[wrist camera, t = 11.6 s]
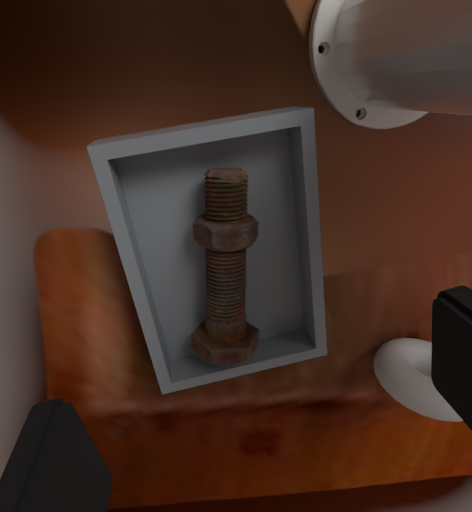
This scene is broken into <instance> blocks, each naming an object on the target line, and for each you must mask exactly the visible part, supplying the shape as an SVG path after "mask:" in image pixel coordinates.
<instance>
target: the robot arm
mask: <svg viewBox="0 0 472 512" xmlns="http://www.w3.org/2000/svg"><path fill="white" fill-rule="evenodd" d="M319 46H321V47H322V52H321V54H319V52H318V47H319ZM309 59H310V64H311V70H312V75H313V77H314V80H315V83H316V85H317V88H318V90H319V92H320V94H321V95H322V97H323V98H324V100H325V102H326V103H327V104H328V105H329V106H330V107H331V108H332V110H333V111H334V112H335V113H336V114H337V115H339V116H340V117H342V118H343V119H345V120H346V121H348V122H350V123H353V124H355V125H358V126H360V127H365V128H370V129H391V128H396V127H401V126H404V125H407V124H409V123H412V122H414V121H416V120H418V119H419V118H421V117H422V116H424V115H426V114H427V113H429V112H438V113H451V114H464V115H472V0H317V2H316V5H315V8H314V12H313V15H312V18H311V25H310V32H309ZM357 110H358V115H357V116H356V111H357ZM431 379H432V382H433V385H434V387H435V388H436V390H437V391H438V392H439V393H440V395H441V396H442V397H443V398H444V399H445V400H446V402H447V403H448V404H449V405H450V406H451V407H452V408H453V410H454V411H455V412H456V413H457V414H458V415H459V416H460V418H461V419H462V420H463V421H464V422H465V423H466V424H467V426H468V427H469V428H470V429H471V430H472V290H471V289H469V288H468V287H466V286H458V287H455V288H451V289H448V290H444V291H441V292H439V294H438V296H437V299H434V301H433V305H432V358H431ZM110 491H111V475H110V471H109V469H108V467H107V465H106V464H105V462H104V460H103V458H102V457H101V455H100V453H99V451H98V450H97V448H96V446H95V444H94V442H93V441H92V439H91V437H90V435H89V434H88V432H87V430H86V428H85V427H84V425H83V423H82V421H81V419H80V418H79V416H78V414H77V412H76V411H75V409H74V407H73V405H72V404H71V403H70V402H64V401H63V400H62V399H61V398H56V399H53V400H49V401H46V402H42V403H38V404H35V405H34V406H33V407H32V408H31V410H30V412H29V414H28V417H27V419H26V421H25V424H24V426H23V428H22V430H21V433H20V435H19V437H18V440H17V442H16V444H15V447H14V449H13V451H12V454H11V456H10V458H9V460H8V463H7V465H6V467H5V470H4V472H3V474H2V477H1V479H0V512H107V511H108V505H109V498H110Z"/></svg>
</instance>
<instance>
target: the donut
mask: <svg viewBox="0 0 472 512" xmlns="http://www.w3.org/2000/svg"><path fill="white" fill-rule="evenodd" d="M431 358H432V342H428V341H424V340H420V339H414V338H399V339H393V340H390V341H388V342H386V343H384V344H383V345H381V346H380V348H379V349H378V351H377V352H376V354H375V356H374V372H375V375H376V377H377V379H378V380H379V382H380V384H381V386H382V387H383V388H384V389H385V390H386V391H387V392H388V393H389V394H390V395H391V396H392V397H393V398H394V399H395V400H397V401H398V402H399V403H401V404H402V405H404V406H405V407H407V408H408V409H411V410H413V411H415V412H417V413H419V414H421V415H423V416H426V417H430V418H433V419H437V420H441V421H454V422H460V421H463V420H462V419H461V418H460V416H459V415H458V414H457V413H456V412H455V411H454V410H453V408H452V407H451V406H450V405H449V404H448V403H447V402H446V400H445V399H444V398H443V397H442V396H441V395H440V393H439V392H438V391H437V390H436V388H435V387H434V385H433V382H432V379H431ZM424 374H426V375H424ZM427 375H428V376H427ZM429 376H430V377H429Z"/></svg>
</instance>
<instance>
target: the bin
mask: <svg viewBox="0 0 472 512" xmlns="http://www.w3.org/2000/svg"><path fill="white" fill-rule="evenodd" d="M87 149H88V152H89V156H90V159H91V162H92V166H93V169H94V172H95V175H96V179H97V182H98V185H99V189H100V192H101V195H102V198H103V202H104V205H105V208H106V212H107V215H108V218H109V221H110V225H111V228H112V231H113V235H114V238H115V241H116V245H117V248H118V251H119V254H120V258H121V261H122V264H123V268H124V271H125V274H126V278H127V281H128V284H129V287H130V291H131V294H132V297H133V301H134V304H135V307H136V310H137V314H138V317H139V320H140V324H141V327H142V330H143V333H144V337H145V340H146V343H147V347H148V350H149V353H150V357H151V360H152V363H153V366H154V370H155V373H156V376H157V380H158V383H159V386H160V389H161V393H162V394H167V393H171V392H175V391H179V390H183V389H187V388H192V387H196V386H200V385H204V384H208V383H212V382H216V381H221V380H225V379H229V378H233V377H237V376H241V375H246V374H250V373H254V372H258V371H262V370H266V369H271V368H275V367H279V366H283V365H287V364H291V363H296V362H300V361H304V360H308V359H312V358H316V357H320V356H325V355H327V340H326V321H325V303H324V284H323V268H322V267H323V265H322V246H321V228H320V209H319V190H318V171H317V153H316V134H315V115H314V108H312V107H301V106H291V107H286V108H279V109H273V110H267V111H261V112H256V113H250V114H244V115H238V116H232V117H227V118H220V119H215V120H208V121H203V122H197V123H191V124H185V125H179V126H173V127H167V128H161V129H155V130H149V131H144V132H138V133H132V134H126V135H120V136H115V137H108V138H102V139H97V140H95V141H94V142H93V143H91V144H90V145H88V146H87ZM215 168H241V169H243V170H244V171H246V172H247V174H246V175H248V176H249V178H248V179H247V180H248V183H247V185H248V188H246V189H248V192H247V194H248V196H247V197H246V198H247V199H248V201H247V202H246V203H248V205H247V208H248V210H247V213H248V214H250V215H252V216H253V217H254V218H255V219H256V220H257V221H258V222H259V223H258V237H257V239H256V241H255V242H254V244H253V245H252V246H251V247H249V248H247V249H246V251H247V252H246V292H245V293H246V296H245V298H246V300H245V313H246V321H247V322H248V323H250V324H251V325H253V326H255V327H256V328H258V329H259V341H258V344H257V347H256V350H255V352H254V354H253V355H252V357H251V358H250V359H249V360H247V361H244V362H242V363H239V364H236V365H231V366H222V365H217V364H213V363H209V362H206V361H204V360H203V359H201V358H200V357H199V356H198V355H197V353H196V352H195V351H194V349H193V348H192V346H191V334H192V333H193V332H194V331H195V330H196V329H197V328H198V326H199V325H200V324H201V323H202V322H203V321H204V319H205V314H206V266H205V265H206V262H205V261H206V259H205V257H206V255H205V252H206V250H205V248H204V247H202V246H200V245H199V244H198V243H197V242H196V241H195V240H194V238H193V223H194V222H195V220H196V219H197V217H198V216H200V215H201V214H204V213H206V212H205V209H206V208H205V205H206V203H205V200H206V199H205V196H206V194H205V193H204V192H205V191H206V189H205V187H206V185H205V184H204V183H205V182H206V180H204V178H205V177H206V176H205V175H204V173H206V172H207V171H208V169H215Z"/></svg>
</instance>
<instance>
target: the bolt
mask: <svg viewBox="0 0 472 512" xmlns="http://www.w3.org/2000/svg"><path fill="white" fill-rule="evenodd" d="M246 174H247V172H246V171H244V170H243V169H241V168H215V169H208V171H207V172H206V173H204V175H205V176H206V177H205V178H204V180H206V182H205V183H204V184H205V185H206V187H205V189H206V191H205V192H204V193H205V194H206V196H205V199H206V200H205V203H206V205H205V208H206V209H205V212H206V213H204V214H201V215H200V216H198V217H197V219H196V220H195V222H194V223H193V238H194V240H195V241H196V242H197V243H198V244H199V245H200V246H202V247H204V248H205V250H206V252H205V255H206V257H205V259H206V261H205V262H206V265H205V266H206V314H205V319H204V321H203V322H202V323H201V324H200V325H199V326H198V328H197V329H196V330H195V331H194V332H193V333H192V334H191V346H192V348H193V349H194V351H195V352H196V353H197V355H198V356H199V357H200V358H201V359H203V360H204V361H206V362H209V363H213V364H217V365H222V366H231V365H236V364H239V363H242V362H244V361H247V360H249V359H250V358H251V357H252V355H253V354H254V352H255V350H256V347H257V344H258V341H259V329H258V328H256V327H255V326H253V325H251V324H250V323H248V322H247V321H246V313H245V300H246V298H245V296H246V293H245V292H246V252H247V251H246V249H247V248H249V247H251V246H252V245H253V244H254V242H255V241H256V239H257V237H258V223H259V222H258V221H257V220H256V219H255V218H254V217H253V216H252V215H250V214H248V213H247V210H248V208H247V205H248V203H246V202H247V201H248V199H247V198H246V197H247V196H248V194H247V192H248V189H246V188H248V185H247V183H248V180H247V179H248V178H249V176H248V175H246Z"/></svg>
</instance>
